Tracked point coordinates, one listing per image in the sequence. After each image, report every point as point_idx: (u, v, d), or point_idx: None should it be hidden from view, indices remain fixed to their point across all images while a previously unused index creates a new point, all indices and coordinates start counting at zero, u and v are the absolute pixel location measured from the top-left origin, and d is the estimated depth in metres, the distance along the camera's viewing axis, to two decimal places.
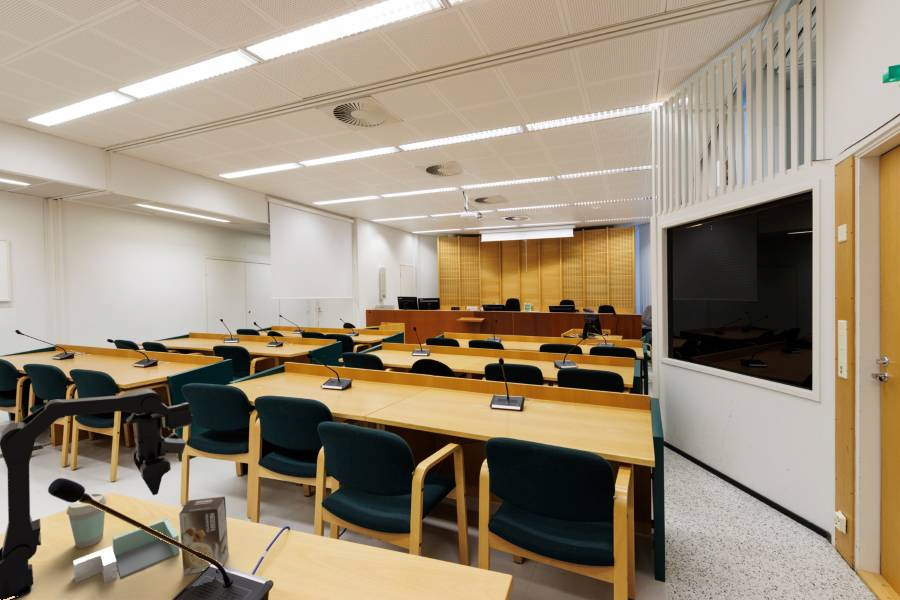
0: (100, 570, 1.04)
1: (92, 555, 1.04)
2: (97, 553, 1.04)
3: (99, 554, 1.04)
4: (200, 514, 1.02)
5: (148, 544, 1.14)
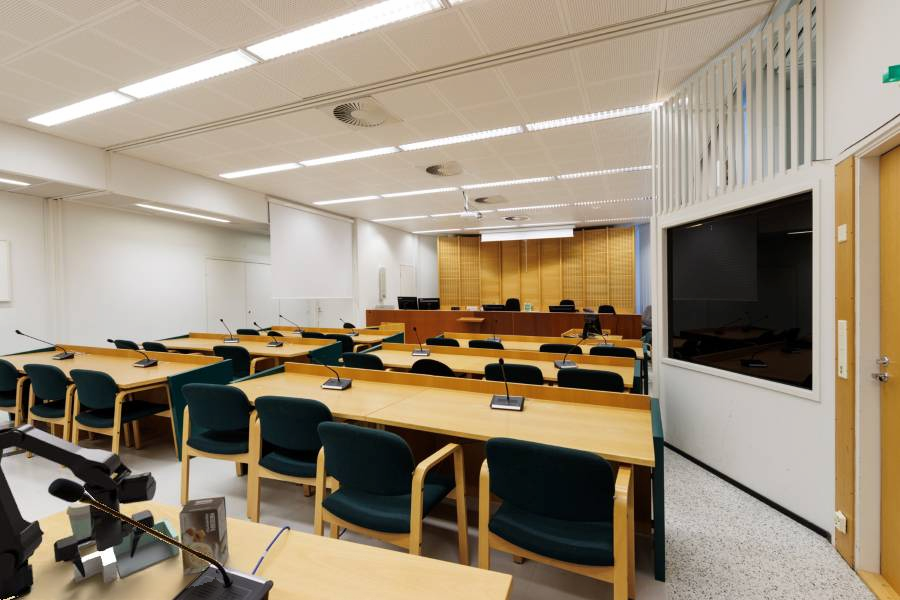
0: (100, 570, 1.04)
1: (92, 555, 1.04)
2: (97, 553, 1.04)
3: (99, 554, 1.04)
4: (200, 514, 1.02)
5: (148, 544, 1.14)
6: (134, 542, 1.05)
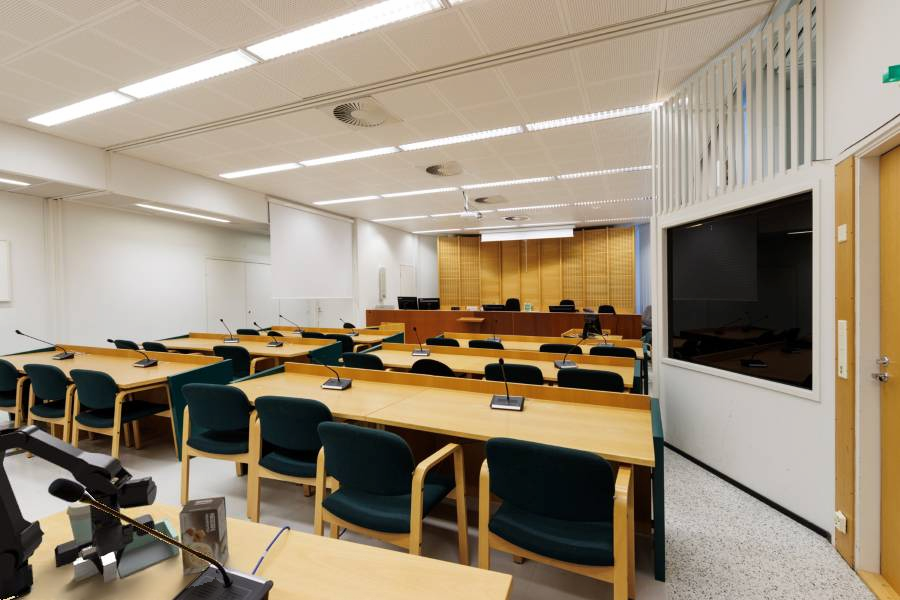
0: None
1: None
2: None
3: None
4: (200, 514, 1.02)
5: (148, 544, 1.14)
6: (118, 552, 1.03)
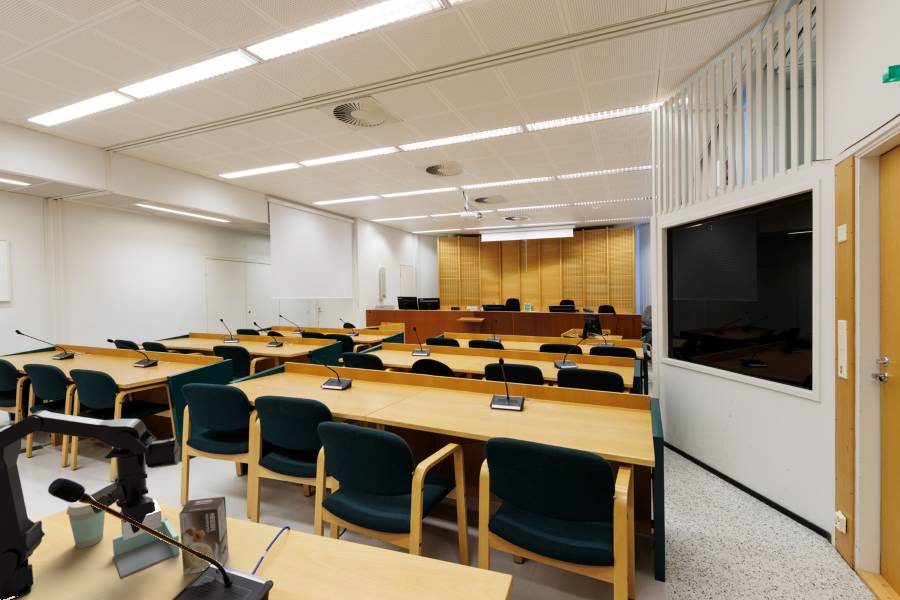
0: None
1: None
2: None
3: None
4: (200, 514, 1.02)
5: (148, 544, 1.14)
6: None
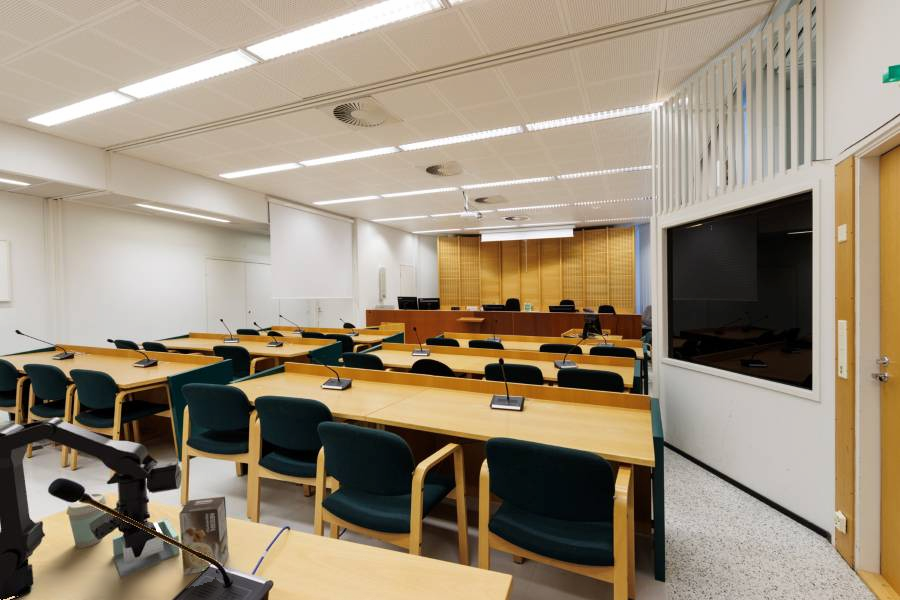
0: None
1: None
2: None
3: None
4: (200, 514, 1.02)
5: None
6: None
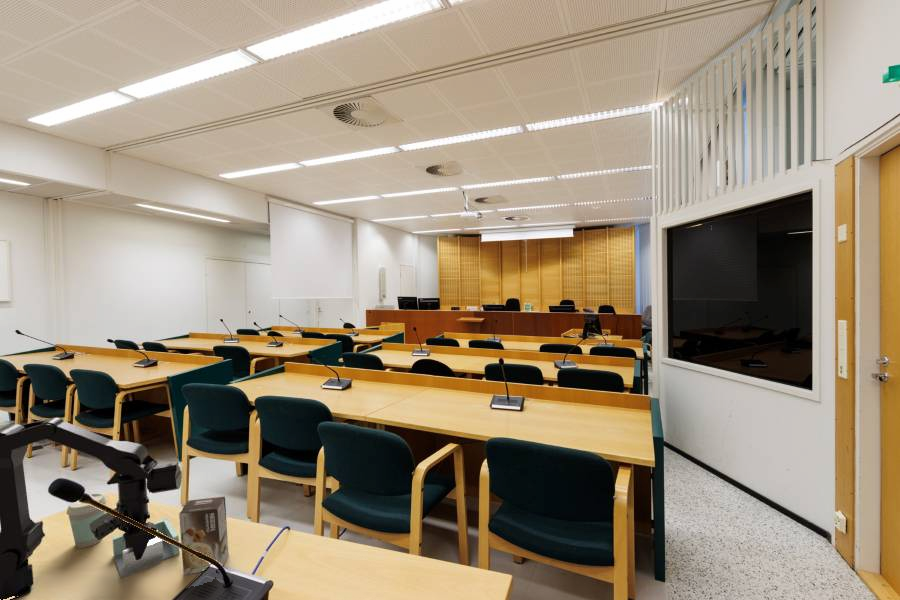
0: None
1: None
2: None
3: None
4: (200, 514, 1.02)
5: None
6: None
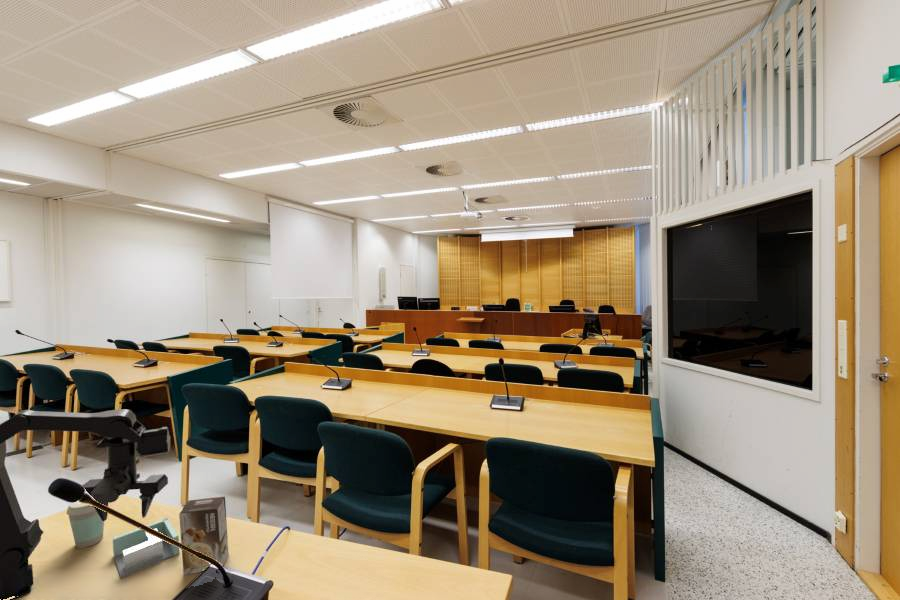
0: None
1: None
2: (155, 537, 1.10)
3: (151, 539, 1.09)
4: (200, 514, 1.02)
5: None
6: (143, 503, 1.06)
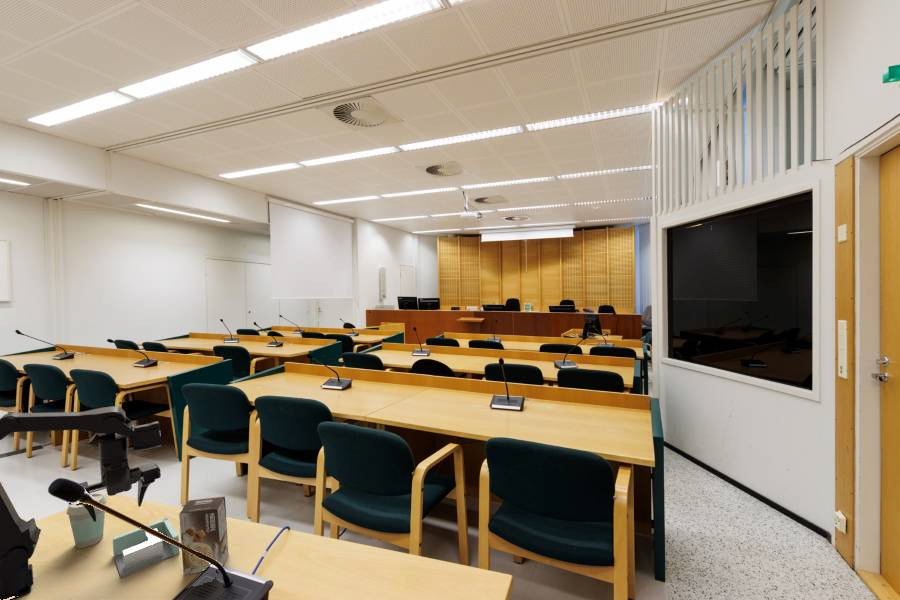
0: None
1: None
2: (155, 537, 1.10)
3: (151, 539, 1.09)
4: (200, 514, 1.02)
5: None
6: (141, 491, 1.11)
